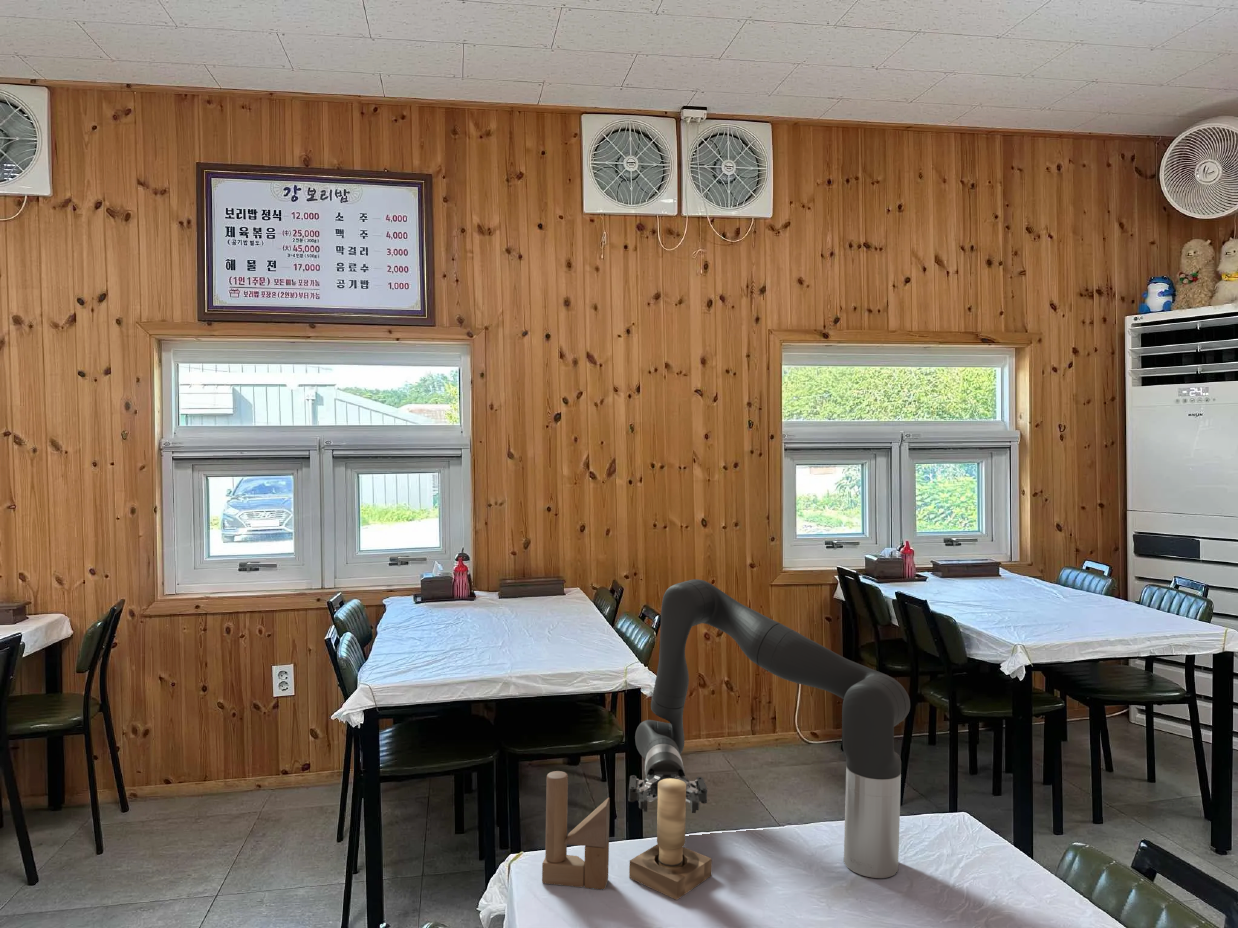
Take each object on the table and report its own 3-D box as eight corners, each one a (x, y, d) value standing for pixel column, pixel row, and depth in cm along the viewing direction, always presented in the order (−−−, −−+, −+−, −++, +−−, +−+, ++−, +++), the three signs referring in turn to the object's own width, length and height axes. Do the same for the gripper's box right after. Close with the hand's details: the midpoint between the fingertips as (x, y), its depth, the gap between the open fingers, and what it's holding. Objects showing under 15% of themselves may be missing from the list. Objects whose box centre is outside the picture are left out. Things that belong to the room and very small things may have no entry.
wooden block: (604, 890, 136) (606, 783, 135) (541, 884, 137) (543, 777, 137) (608, 879, 139) (610, 774, 139) (546, 872, 141) (548, 769, 140)
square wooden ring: (664, 855, 147) (665, 839, 147) (711, 875, 141) (711, 858, 141) (629, 877, 140) (629, 860, 140) (676, 899, 133) (677, 881, 133)
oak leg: (667, 866, 144) (669, 775, 143) (690, 875, 141) (691, 783, 140) (650, 876, 140) (652, 784, 140) (673, 887, 137) (674, 792, 137)
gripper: (628, 749, 160) (629, 785, 144) (701, 751, 160) (710, 786, 144) (627, 787, 160) (628, 827, 144) (700, 789, 160) (709, 828, 144)
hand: (669, 807), depth 144 cm, fingers open, 8 cm apart
